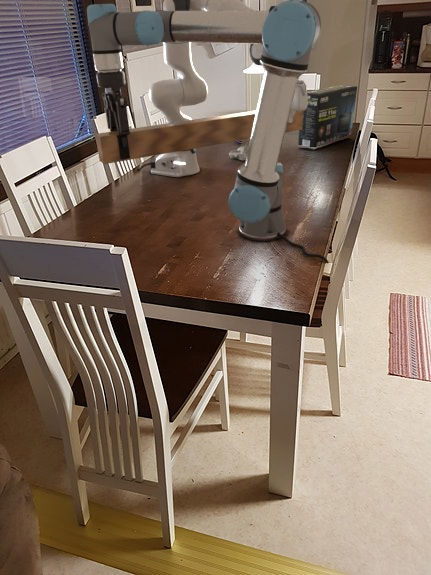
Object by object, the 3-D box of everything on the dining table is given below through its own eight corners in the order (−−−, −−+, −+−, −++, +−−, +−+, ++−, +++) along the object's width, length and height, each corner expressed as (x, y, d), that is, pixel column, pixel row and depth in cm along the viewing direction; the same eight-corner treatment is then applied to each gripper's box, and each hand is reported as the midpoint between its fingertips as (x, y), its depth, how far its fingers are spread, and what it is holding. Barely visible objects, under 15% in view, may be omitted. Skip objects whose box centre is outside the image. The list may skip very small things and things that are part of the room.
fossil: (256, 156, 213) (234, 135, 216) (244, 175, 219) (223, 154, 222) (274, 153, 226) (253, 134, 229) (261, 171, 233) (241, 152, 236)
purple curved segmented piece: (221, 137, 264) (220, 133, 263) (234, 136, 265) (233, 132, 264) (228, 145, 247) (228, 142, 246) (242, 144, 248) (242, 140, 247)
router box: (314, 151, 231) (318, 94, 217) (296, 148, 237) (299, 92, 224) (352, 138, 251) (358, 85, 238) (335, 135, 258) (340, 83, 245)
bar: (104, 164, 133) (100, 136, 129) (99, 160, 136) (95, 133, 132) (302, 129, 163) (303, 106, 159) (294, 127, 166) (295, 104, 162)
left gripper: (313, 79, 147) (310, 124, 154) (275, 74, 162) (274, 115, 169) (298, 81, 144) (295, 127, 151) (260, 75, 159) (260, 117, 166)
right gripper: (134, 71, 119) (145, 161, 132) (112, 67, 133) (124, 148, 145) (107, 74, 116) (120, 165, 128) (87, 69, 130) (101, 152, 142)
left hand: (283, 120), depth 160 cm, fingers closed on bar, 4 cm apart
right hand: (122, 156), depth 137 cm, fingers closed on bar, 5 cm apart
